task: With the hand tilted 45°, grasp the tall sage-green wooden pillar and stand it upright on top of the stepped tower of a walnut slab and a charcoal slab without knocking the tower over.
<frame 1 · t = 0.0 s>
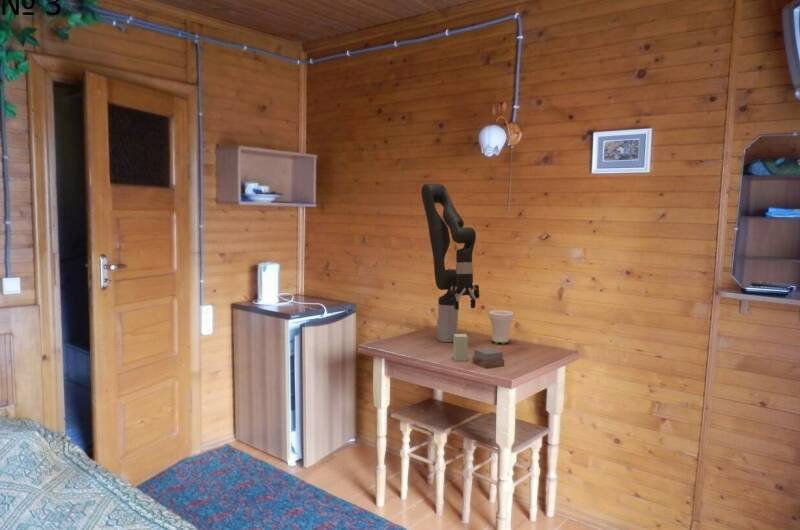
hand: (464, 308, 257), 17 cm above the table, tool pointing down, fingers open, 8 cm apart
cup: (500, 343, 267), on the table
sage pillar: (460, 359, 238), on the table
walnut slab: (488, 365, 231), on the table, touching charcoal slab
charcoal slab: (488, 358, 231), point 3 cm above the table, touching walnut slab
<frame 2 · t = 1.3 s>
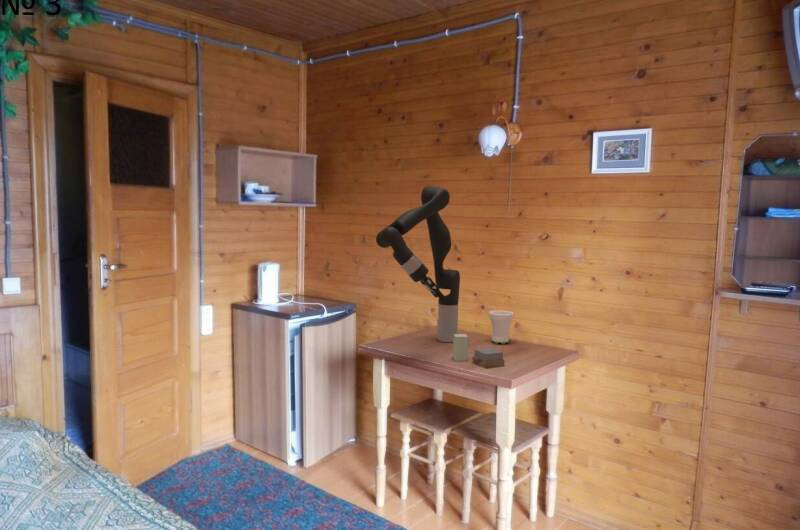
hand: (440, 297, 234), 26 cm above the table, tool tilted 40°, fingers open, 8 cm apart
nothing on the table moved.
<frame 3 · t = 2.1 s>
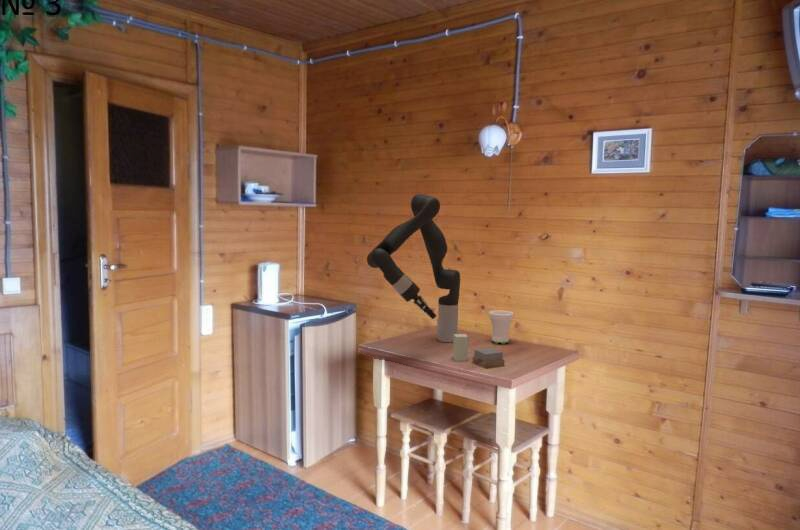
hand: (433, 315, 235), 18 cm above the table, tool tilted 45°, fingers open, 8 cm apart
nothing on the table moved.
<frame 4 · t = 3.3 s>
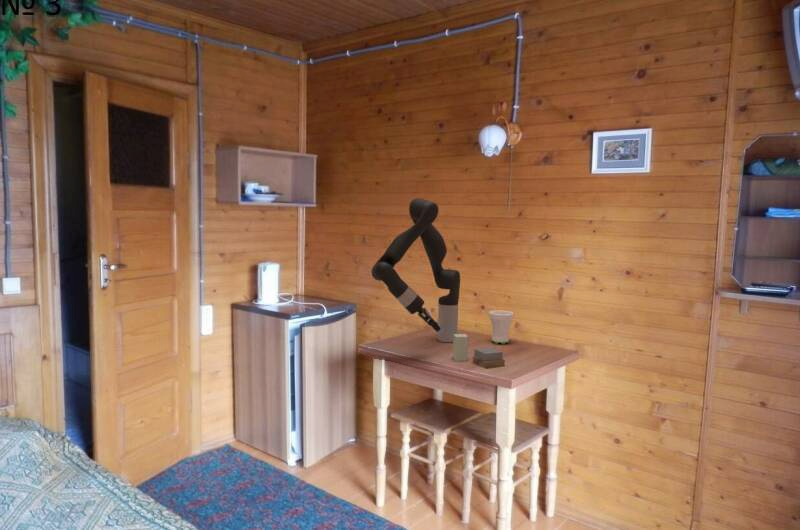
hand: (437, 327, 236), 13 cm above the table, tool tilted 45°, fingers open, 8 cm apart
nothing on the table moved.
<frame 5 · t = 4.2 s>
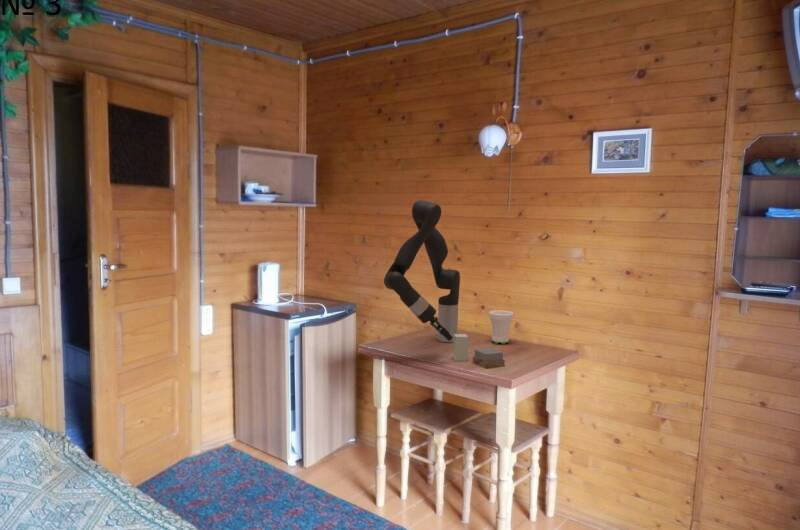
hand: (449, 336, 236), 9 cm above the table, tool tilted 45°, fingers open, 8 cm apart
walnut slab: (488, 365, 231), on the table
charcoal slab: (488, 358, 231), point 2 cm above the table
everything else where it was.
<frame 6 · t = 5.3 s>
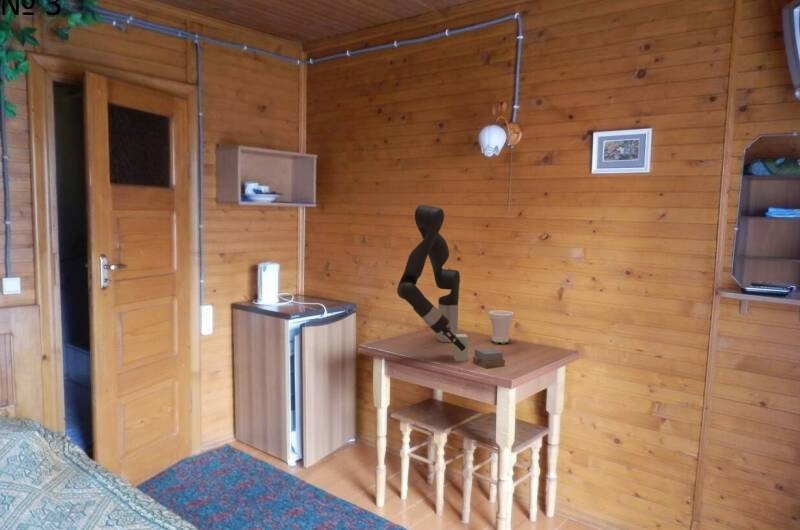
hand: (461, 346, 237), 5 cm above the table, tool tilted 45°, fingers open, 8 cm apart
walnut slab: (488, 365, 231), on the table, touching charcoal slab
charcoal slab: (488, 358, 231), point 2 cm above the table, touching walnut slab
everything else where it was.
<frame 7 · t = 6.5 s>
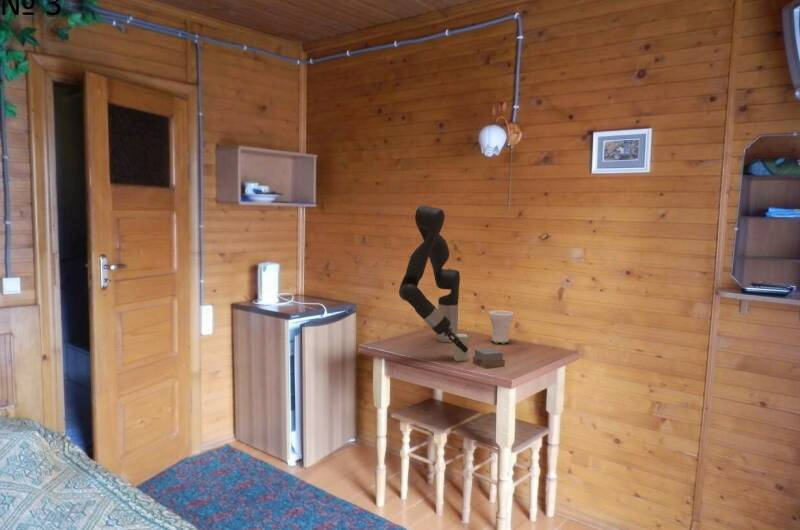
hand: (464, 349, 238), 4 cm above the table, tool tilted 45°, fingers closed on sage pillar, 5 cm apart
sage pillar: (460, 359, 238), on the table, touching gripper
walnut slab: (488, 365, 231), on the table
charcoal slab: (488, 358, 230), point 2 cm above the table
everything else where it was.
when the fingers open (12 cm above the table, at t = 12.1 s): sage pillar drops 2 cm, point 5 cm above the table.
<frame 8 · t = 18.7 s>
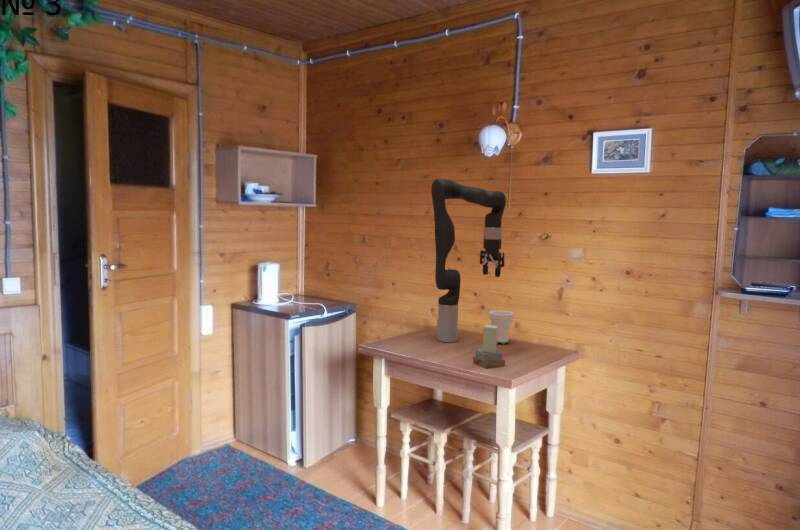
hand: (491, 275, 248), 33 cm above the table, tool pointing down, fingers open, 8 cm apart
sage pillar: (489, 351, 230), point 5 cm above the table
walnut slab: (488, 365, 231), on the table, touching charcoal slab
charcoal slab: (488, 358, 231), point 2 cm above the table, touching walnut slab
everything else where it was.
at the end: sage pillar 0.2 cm off-centre on the charcoal slab, point 3.1 cm above the charcoal slab's base; sage pillar tilted 2°; charcoal slab moved 0.6 cm from its start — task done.
